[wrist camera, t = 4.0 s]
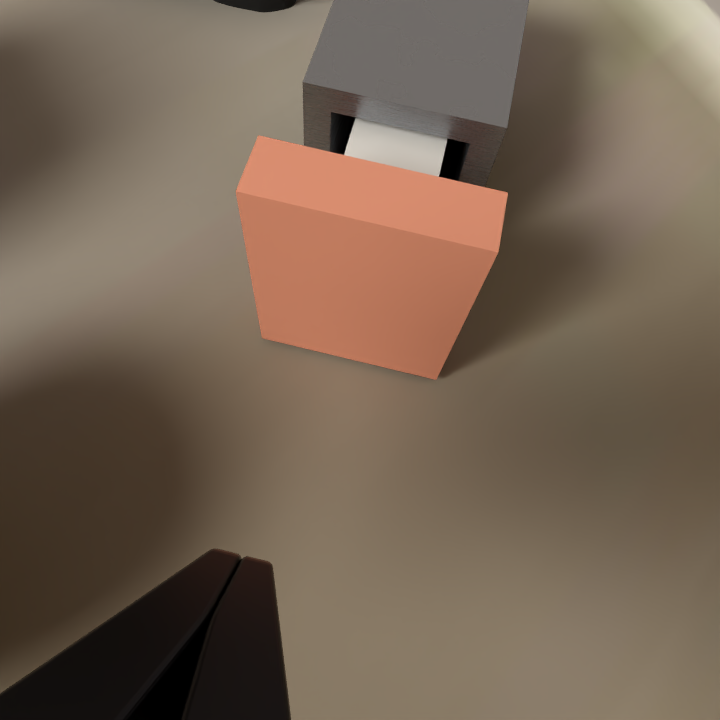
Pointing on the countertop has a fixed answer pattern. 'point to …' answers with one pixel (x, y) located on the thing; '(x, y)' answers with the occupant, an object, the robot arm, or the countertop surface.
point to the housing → (418, 75)
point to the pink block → (366, 246)
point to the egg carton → (259, 4)
